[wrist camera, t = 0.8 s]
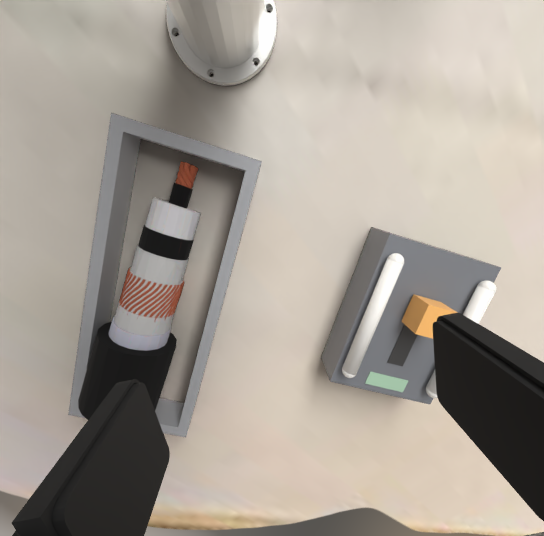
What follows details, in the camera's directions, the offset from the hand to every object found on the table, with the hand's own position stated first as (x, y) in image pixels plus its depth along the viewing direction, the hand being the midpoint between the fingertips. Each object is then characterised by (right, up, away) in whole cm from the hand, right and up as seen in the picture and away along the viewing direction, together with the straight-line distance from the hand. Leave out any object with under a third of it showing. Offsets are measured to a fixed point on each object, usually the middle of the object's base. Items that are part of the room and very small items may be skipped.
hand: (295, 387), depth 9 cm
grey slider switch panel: (+18, -3, +36) cm, 40 cm away
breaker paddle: (+19, -2, +29) cm, 35 cm away
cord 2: (+25, -6, +31) cm, 40 cm away
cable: (-17, +2, +33) cm, 37 cm away
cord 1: (+12, -3, +29) cm, 32 cm away
